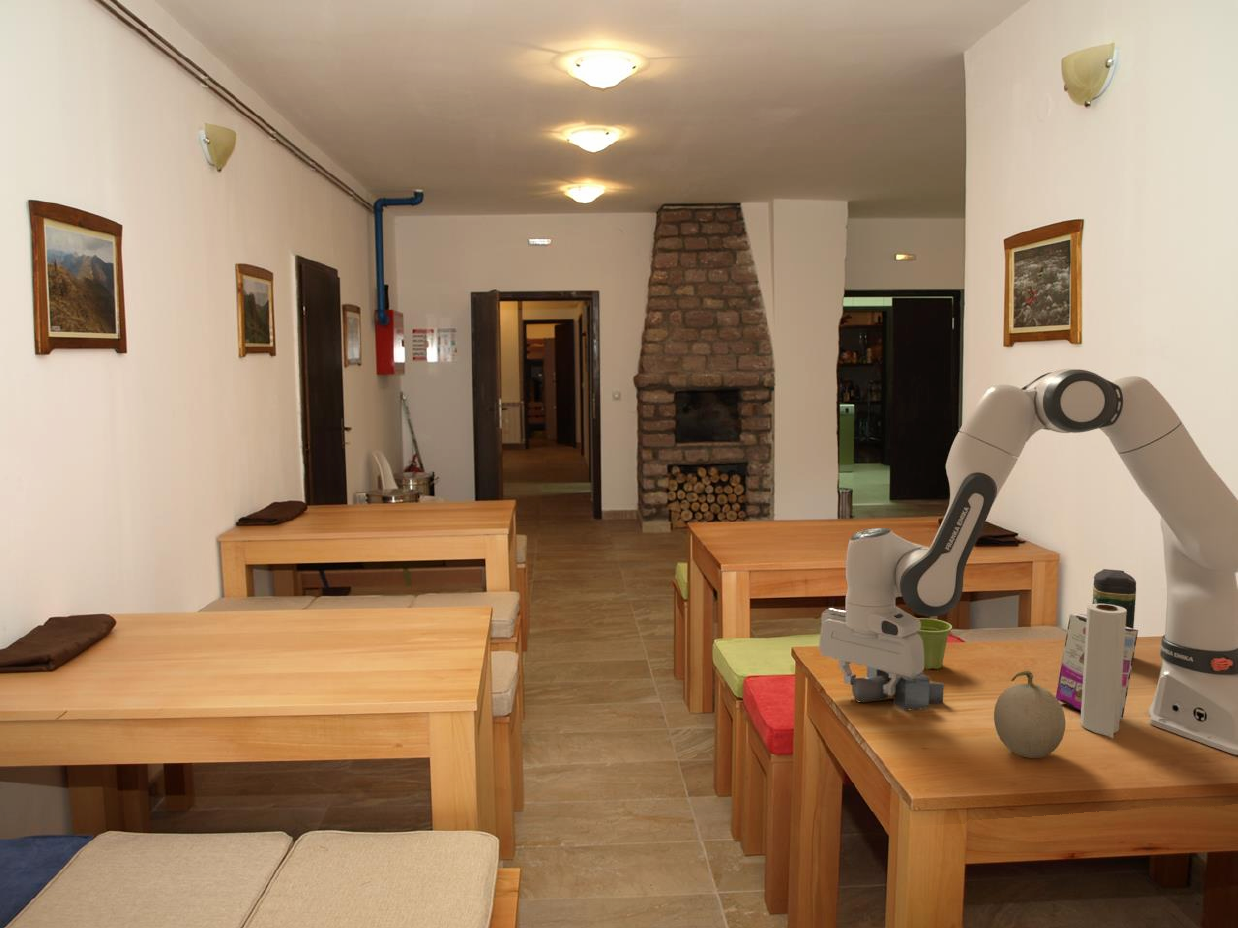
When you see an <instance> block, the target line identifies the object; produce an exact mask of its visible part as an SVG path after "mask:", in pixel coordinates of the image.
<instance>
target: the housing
mask: <svg viewBox="0 0 1238 928" xmlns="http://www.w3.org/2000/svg"><path fill="white" fill-rule="evenodd" d="M873 676H883V677H884V678H885V680H886V682H890V681H891V679H892V678H889V672H886V671H882V670H878V669H874V668H870V667H866V677H873ZM930 679H931V677H930V675H927V674H925V673H924V672H923V671H922V672H921V673H920V674H919V675H917V676H915V677H912V678H910V677H906V676H902V677H901V678H900V680H899V681H898V683H897V684H896V685H895V694H894V698H893V705H895V706H896V705H897V706H896V707H898V708H900V709H901V708H902V709H901V710H903V709H904V710H906V711H910V710H909V709H914V710H919V709H920V708H922V709H929V707H930V706H929V705H930V704H929V703H933V704H944V688H945V687H944V684H945V683H944V682H935V681H934V682H933V681H930ZM904 710H903V711H904Z"/></svg>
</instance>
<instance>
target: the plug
mask: <svg viewBox="0 0 1238 928" xmlns="http://www.w3.org/2000/svg"><path fill="white" fill-rule="evenodd" d="M887 683H889V682H886V680H885V678H884V677H883V676H873V677H867V676H865V677H864V676H863V677H856V678H855V679H854V680H853V683H852V685H851V691H852V695H853V697H854V699H855V700H856V699H857V700H858V701H860V702H861V703H867V702H876V701H877V702H878V701H885V700H889V699H890V700H891V699H894V695H892V696H890V695H886V694H884V693H883V691H884V689H883V685H885V684H887Z"/></svg>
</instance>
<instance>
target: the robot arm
mask: <svg viewBox="0 0 1238 928" xmlns="http://www.w3.org/2000/svg"><path fill="white" fill-rule="evenodd" d="M1098 429H1100V430H1101V432H1103V434H1105V435H1106V437H1108V439H1109V441H1110V442H1111V443H1110V444H1112V446H1113V447H1114V449H1115V451H1116V452H1117V455H1118V457H1120V459H1121V461H1122V463H1123V464H1124V466H1125V467H1126V468H1127V471H1128V472H1129V473H1130V475H1131V477H1132V478H1133V480H1134V481H1135V483H1136V485H1137V486H1138V488H1139V490H1140V491H1141V492H1142V493H1143V495H1144V496H1145V497H1146V498H1147V499H1148V500H1149V503H1151V505H1152V506H1153V508H1154V509H1155V510H1156V511H1157V512H1158V514H1159V515H1160V528H1161V533H1162V540H1163V541H1162V542H1163V543H1162V544H1163V560H1164V561H1163V562H1164V571H1165V580H1166V593H1167V596H1166V610H1165V611H1166V612H1165V626H1164V627H1165V629H1164V635H1163V636H1162V637H1161V642H1160V654H1159V655H1160V657H1161V658H1162V660H1161V666H1160V672H1159V676H1158V682H1157V686H1156V689H1155V693H1154V696H1153V697H1154V698H1153V699H1152V703H1151V705H1150V707H1149V708H1148V713H1149V715H1150V716H1149V724H1150V725H1152V726H1154V727H1157V728H1160V729H1163V730H1165V731H1168V732H1171V733H1174V734H1177V735H1179V736H1181V737H1184V738H1187V739H1189V740H1192V741H1196V742H1198V743H1201V744H1204V745H1206V746H1209V747H1212V748H1214V749H1218V750H1221V751H1223V752H1226V753H1229V754H1231V755H1235V756H1238V583H1237V576H1236V575H1237V574H1236V573H1238V499H1237V497H1236V496H1235V495H1234V493H1233V492H1232V490H1231V489H1230V488H1229V487H1228V485H1227V484H1226V483H1225V481H1224V480H1222V478H1221V477H1220V476H1219V474H1218V473H1217V472H1216V471H1215V470H1214V469H1213V467H1212V466H1211V465H1210V463H1209V461H1207V459H1206V458H1205V456H1204V454H1203V453H1202V451H1201V450H1200V448H1199V446H1198V445H1197V444H1196V442H1195V441H1194V439H1193V438H1192V437H1193V436H1191V434H1190V433H1189V431H1188V430H1187V427H1186V426H1185V424H1183V421H1182V420H1181V419H1180V416H1179V415H1178V414H1177V412H1176V411H1175V410H1174V408H1173V407H1172V405H1171V404H1170V403H1169V402H1168V401H1167V400H1166V398H1165V397H1164V396H1163V395H1162V393H1161V392H1160V391H1159V390H1158V389H1157V388H1156V387H1155V386H1154V385H1153V384H1152V383H1151V382H1150V381H1149V380H1148V379H1146V378H1144V377H1143V376H1136V375H1135V376H1133V375H1132V376H1125V377H1121V378H1119V379H1116V380H1114V381H1110V380H1108V379H1107V378H1104V377H1102V376H1101V375H1099V374H1097V373H1095V372H1093V371H1090V370H1087V369H1075V368H1062V369H1058V370H1054V371H1051V372H1047V373H1045V374H1042V375H1040V376H1038V377H1037V378H1035V379H1034V380H1032V381H1030V383H1028V384H1027V385H1025V386H1024V387H1022V388H1019V387H1017V386H1015V385H1010V384H997V385H993V386H991V387H989V388H988V389H987V390H986V391H985V392H984V393H983V394H982V395H981V396H980V398H979V399H978V401H977V402H976V404H975V405H974V406H973V408H971V410H970V412H969V413H968V415H967V416H966V418H965V420H964V421H963V423H962V425H961V427H960V428H959V431H958V433H957V434H956V435H955V437H954V440H953V442H952V444H951V447H950V450H949V452H948V456H947V459H946V463H945V470H946V476H947V480H948V485H949V494H950V495H949V502H948V503H949V504H948V507H947V510H946V513H945V515H944V517H943V519H942V521H941V524H940V526H939V528H938V529H937V532H936V534H935V536H934V538H933V540H932V543H931V545H930V546H925V545H922V544H919V543H916V542H911V541H909V540H907V539H905V538H903V537H901V536H900V535H898V534H896V533H895V532H893V531H892V530H891V529H889V528H885V527H872V528H867V529H863V530H860V531H857V532H855V533H854V534H853V535H851V537H850V539H849V542H848V545H847V551H846V559H845V561H846V562H845V578H846V579H845V580H846V583H847V590H846V591H847V592H846V594H845V595H846V596H845V610H841V609H836V608H833V607H829V608H827V609H825V610H824V611H823V612H822V613H821V615H820V616H821V618H820V619H821V620H820V621H821V628H820V633H819V644H818V650H819V652H820V653H821V656H823V657H827V658H830V659H834V660H837V661H838V667H839V668H840V670H841V673H842V674H843V683H844V684H846V685H850V686H852V683H853V680H854V679H856V678H857V674H856V673H853V672H852V669H851V666H850V664H855V665H858V666H862V667H866V668H867V667H870V668H874V669H878V670H882V671H886V672H889V678H892V679H891V681H890V682H889V683H887V684H885V685H883V689H884V691H883V693H884V694H886V695H890V696H892V695H894V694H895V685H896V684H897V683H898V681H899V680H900V678H901V677H902V676H906V677H910V678H912V677H915V676H917V675H919V674H920V673H921V672H922V673H923V671H924V670H925V669H924V647H923V641H922V638H921V636H920V635H919V634H918V633H917V631H919V630H920V628H921V622H920V620H919V619H917V617H915V616H914V615H911V614H910V613H908V612H906V611H904V610H903V609H901V608H900V607H898V606H896V598H899V597H902V599H903V601H904V603H905V605H906V606H907V607H908V608H909V609H910V610H911V611H912V612H914V613H915V614H917V615H920V616H924V617H939V616H943V615H945V614H947V613H949V612H951V611H952V610H953V609H954V608H955V607H956V606H957V605H958V604H959V602H960V600H961V597H962V594H963V588H964V575H965V574H964V573H965V568H966V567H967V566H966V565H967V562H968V559H969V558H970V555H971V554H972V551H973V549H974V547H975V544H976V543H977V541H978V539H979V536H980V534H981V531H982V530H983V528H984V525H985V524H986V521H987V518H988V517H989V514H990V511H991V509H992V507H993V505H994V503H995V501H996V499H997V497H998V495H999V494H1000V491H1001V490H1002V488H1003V486H1004V485H1005V483H1006V481H1007V480H1008V478H1009V476H1010V474H1011V473H1012V471H1013V469H1014V467H1015V465H1016V464H1017V461H1018V459H1019V458H1020V456H1021V454H1022V452H1023V450H1024V448H1025V445H1026V444H1027V443H1028V442H1029V440H1030V439H1031V438H1032V436H1033V435H1035V434H1036V433H1037V432H1039V431H1041V430H1047V431H1052V432H1055V433H1060V434H1061V433H1062V434H1069V433H1073V434H1075V433H1079V434H1080V433H1085V432H1090V431H1095V430H1098Z"/></svg>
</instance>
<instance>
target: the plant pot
mask: <svg viewBox="0 0 1238 928" xmlns="http://www.w3.org/2000/svg"><path fill="white" fill-rule="evenodd" d="M916 618H917V617H916ZM917 619H919V620H920V622H921V628H920V630H919V631H917V633H918V634H919V635H920V636H921V638H922V641H923V647H924V669H923V670H931V669H935V670H938V669H941V668H942V667H943V662H944V658H945V657H944V656H945V652H946V647H947V642H948V637H949V636H950V632H951V630H953V626H952V624H950V622H947V621H944V620H941V619H934V618H927V617H926V618H923V617H921V618H917Z"/></svg>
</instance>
